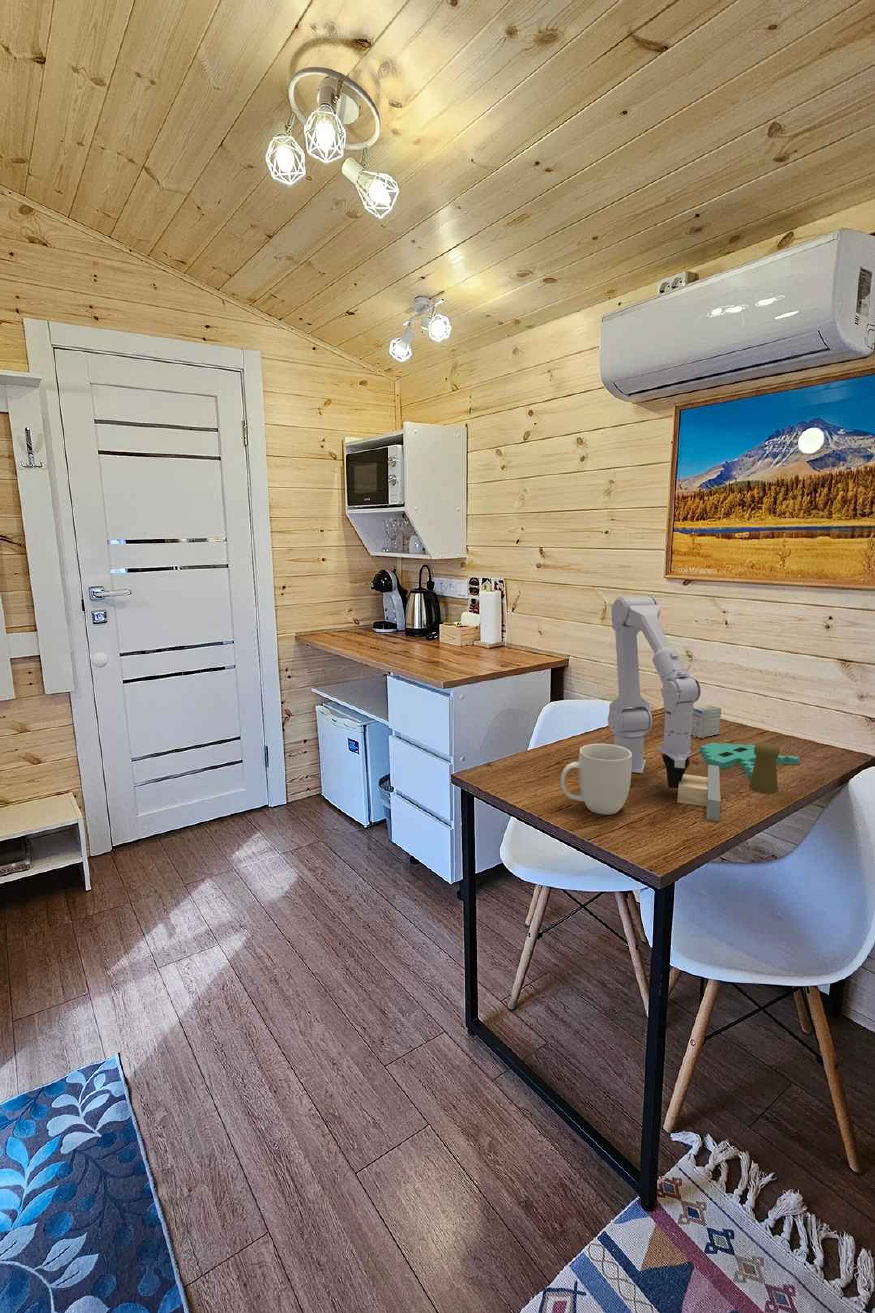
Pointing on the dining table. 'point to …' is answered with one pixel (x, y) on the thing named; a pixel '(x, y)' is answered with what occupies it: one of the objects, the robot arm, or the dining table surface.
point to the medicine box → (706, 720)
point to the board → (713, 793)
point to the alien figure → (736, 756)
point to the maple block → (693, 790)
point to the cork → (765, 768)
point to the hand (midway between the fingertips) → (673, 787)
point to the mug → (602, 777)
